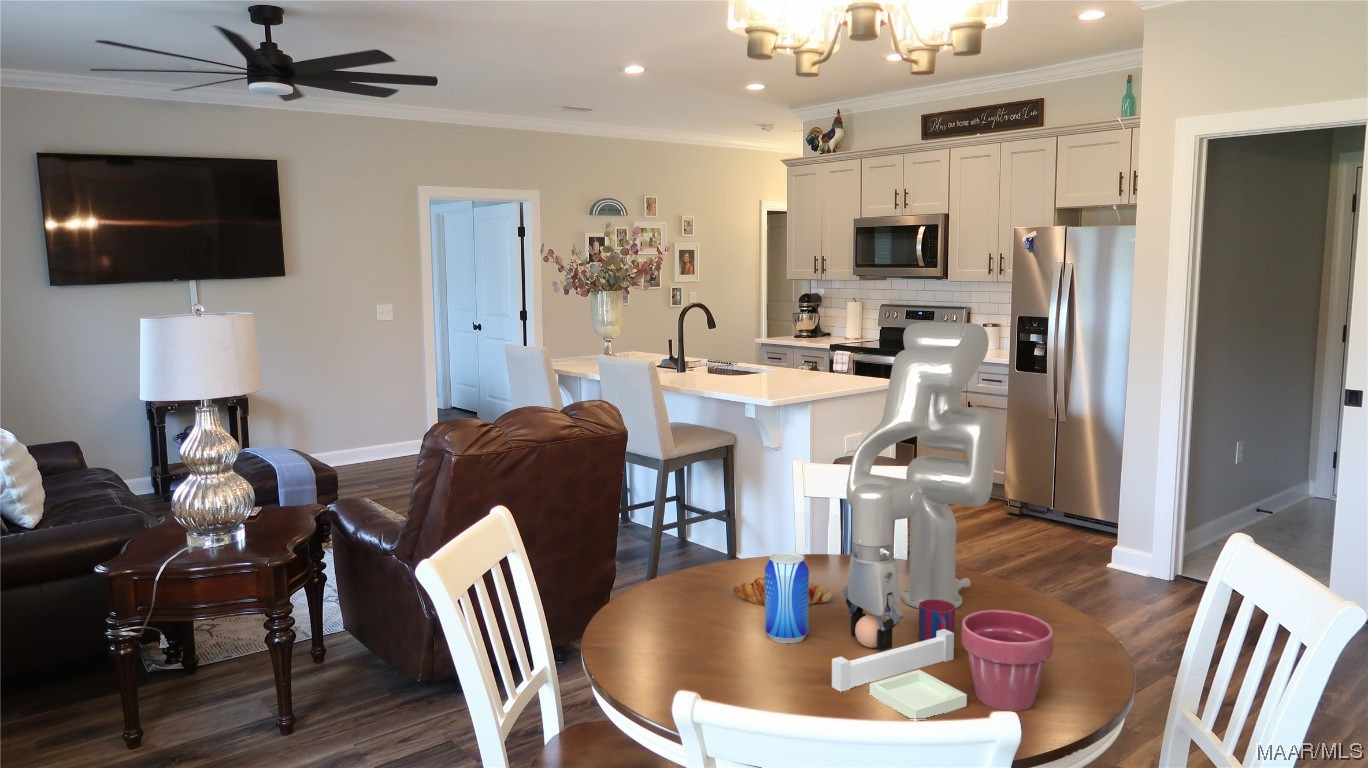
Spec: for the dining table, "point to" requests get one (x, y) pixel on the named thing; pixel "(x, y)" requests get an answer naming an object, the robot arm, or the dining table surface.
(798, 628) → the beer can
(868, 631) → the ball
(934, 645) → the rail
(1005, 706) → the plant pot
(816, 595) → the croissant
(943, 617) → the mug
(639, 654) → the dining table surface
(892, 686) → the square tray
